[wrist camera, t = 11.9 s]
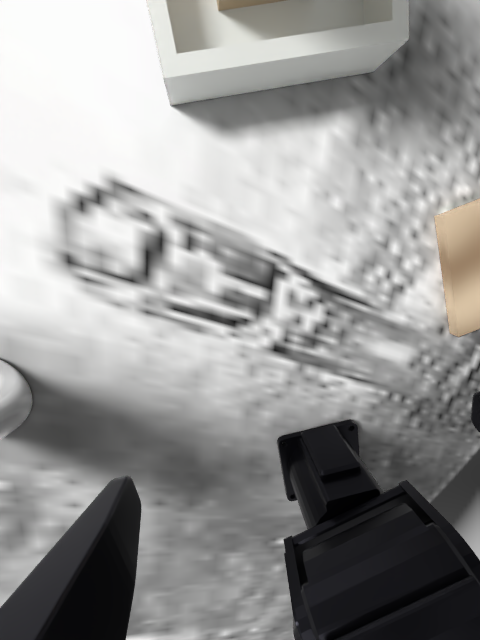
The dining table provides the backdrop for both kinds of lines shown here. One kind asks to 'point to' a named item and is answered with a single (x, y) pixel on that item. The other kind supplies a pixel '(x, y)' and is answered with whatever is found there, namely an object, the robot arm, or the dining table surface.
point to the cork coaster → (461, 265)
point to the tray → (271, 43)
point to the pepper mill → (241, 3)
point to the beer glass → (13, 399)
